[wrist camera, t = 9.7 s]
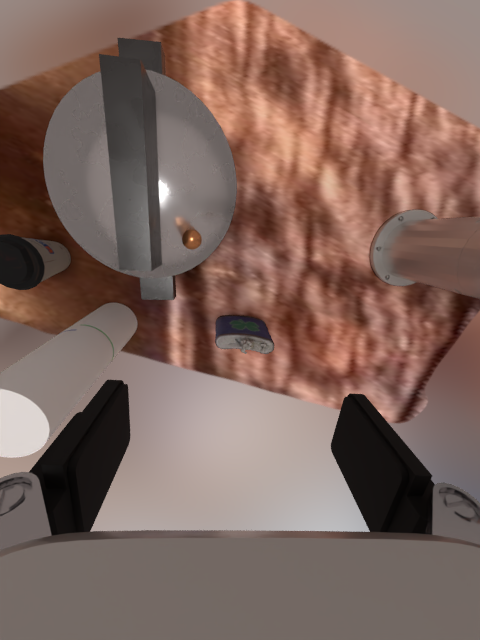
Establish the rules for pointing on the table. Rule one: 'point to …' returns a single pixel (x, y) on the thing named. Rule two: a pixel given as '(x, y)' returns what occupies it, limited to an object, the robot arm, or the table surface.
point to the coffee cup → (30, 261)
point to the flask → (243, 334)
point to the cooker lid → (139, 171)
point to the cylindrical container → (58, 377)
